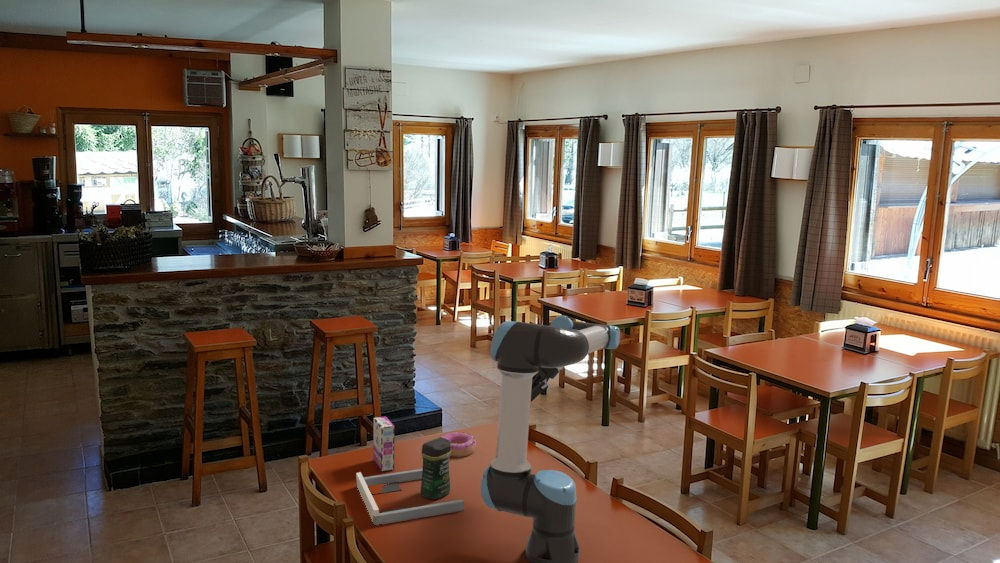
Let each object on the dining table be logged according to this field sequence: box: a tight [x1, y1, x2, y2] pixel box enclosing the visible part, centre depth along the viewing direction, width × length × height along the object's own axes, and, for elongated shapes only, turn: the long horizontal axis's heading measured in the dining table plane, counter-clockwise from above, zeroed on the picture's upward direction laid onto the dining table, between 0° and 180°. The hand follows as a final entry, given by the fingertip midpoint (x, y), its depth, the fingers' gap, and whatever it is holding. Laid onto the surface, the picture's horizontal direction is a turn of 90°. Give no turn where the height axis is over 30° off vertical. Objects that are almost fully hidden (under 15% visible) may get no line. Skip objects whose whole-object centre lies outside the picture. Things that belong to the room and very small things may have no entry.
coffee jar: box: [420, 436, 451, 500], centre depth 236 cm, size 10×8×19 cm
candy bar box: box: [372, 415, 396, 472], centre depth 257 cm, size 11×5×16 cm, turn 25°
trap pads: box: [380, 482, 413, 513], centre depth 232 cm, size 24×10×1 cm, turn 22°
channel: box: [355, 468, 465, 526], centre depth 234 cm, size 27×28×5 cm
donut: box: [440, 431, 477, 458], centre depth 273 cm, size 14×14×5 cm
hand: (505, 415), depth 243 cm, fingers closed
